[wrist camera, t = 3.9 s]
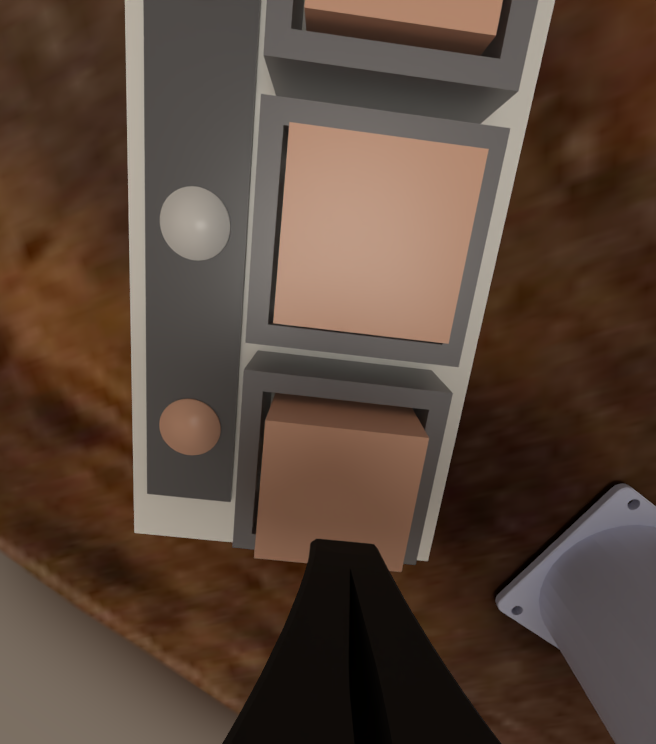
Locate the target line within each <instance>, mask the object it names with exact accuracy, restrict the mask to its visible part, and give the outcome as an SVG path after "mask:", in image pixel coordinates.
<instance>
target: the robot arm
mask: <svg viewBox="0 0 656 744" xmlns="http://www.w3.org/2000/svg"><path fill="white" fill-rule="evenodd" d="M631 500H632V502H631V503H629V501H631ZM628 503H629V504H628ZM495 601H496V604H497V606H498V608H499V610H500V611H501V612H503V613H504V614H506V615H507V616H509V617H510V618H512V619H514V620H515V621H517V622H518V623H520V624H521V625H523V626H524V627H526V628H527V629H529V630H530V631H532V632H534V633H535V634H537V635H538V636H540V637H541V638H543V639H544V640H546V641H547V642H549V643H550V644H552V645H554V646H555V647H557V648H558V649H560V651H561V653H562V654H563V656H564V658H565V659H566V661H567V663H568V664H569V666H570V668H571V670H572V671H573V673H574V675H575V676H576V678H577V680H578V681H579V683H580V685H581V686H582V688H583V690H584V691H585V693H586V695H587V696H588V698H589V700H590V702H591V703H592V705H593V707H594V708H595V710H596V712H597V713H598V715H599V717H600V718H601V720H602V722H603V723H604V725H605V727H606V728H607V730H608V732H609V734H610V735H611V737H612V739H613V740H614V742H615V744H656V506H655V505H653V504H652V503H651V502H650V501H648V500H647V499H646V498H644V497H643V496H642V495H641V494H639V493H638V492H637V491H636V490H634V489H633V488H632V487H630V486H629V485H627V484H617V485H615V486H613V487H612V488H611V489H610V490H609V491H608V492H607V493H606V494H605V495H603V496H602V497H601V498H600V499H599V500H598V501H597V502H596V503H595V504H594V505H593V506H592V507H591V508H590V509H589V510H587V511H586V512H585V513H584V514H583V515H582V516H581V517H580V518H579V519H578V520H577V521H576V522H575V523H574V524H572V525H571V526H570V527H569V528H568V529H567V530H566V531H565V532H564V533H563V534H562V535H561V536H560V537H559V538H558V539H556V540H555V541H554V542H553V543H552V544H551V545H550V546H549V547H548V548H547V549H546V550H545V551H544V552H543V553H541V554H540V555H539V556H538V557H537V558H536V559H535V560H534V561H533V562H532V563H531V564H530V565H529V566H528V567H527V568H525V569H524V570H523V571H522V572H521V573H520V574H519V575H518V576H517V577H516V578H515V579H514V580H513V581H512V582H511V583H509V584H508V585H507V586H506V587H505V588H504V589H503V590H502V591H501V592H500V593H499V594H498V595H497V596H496V599H495ZM515 606H517V607H515ZM514 607H515V608H514ZM222 744H501V743H500V741H499V740H498V739H497V737H496V736H495V735H494V733H493V732H492V731H491V730H490V728H489V727H488V725H487V724H486V723H485V721H484V720H483V719H482V717H481V716H480V715H479V713H478V712H477V710H476V709H475V708H474V706H473V705H472V703H471V702H470V701H469V699H468V698H467V696H466V695H465V694H464V692H463V691H462V689H461V688H460V686H459V685H458V683H457V682H456V680H455V679H454V677H453V676H452V674H451V673H450V671H449V670H448V669H447V667H446V666H445V664H444V663H443V661H442V659H441V658H440V656H439V655H438V653H437V652H436V650H435V649H434V647H433V646H432V644H431V642H430V641H429V639H428V637H427V636H426V634H425V633H424V631H423V629H422V628H421V626H420V624H419V623H418V621H417V619H416V618H415V616H414V615H413V613H412V611H411V609H410V608H409V606H408V604H407V603H406V601H405V599H404V597H403V596H402V594H401V592H400V590H399V588H398V587H397V585H396V583H395V581H394V579H393V577H392V575H391V574H390V572H389V570H388V568H387V566H386V564H385V562H384V560H383V558H382V556H381V554H380V552H379V550H378V548H377V547H376V546H375V545H374V544H369V543H359V542H348V541H338V540H327V539H315V540H314V541H312V542H311V543H310V551H309V558H308V563H307V566H306V570H305V573H304V576H303V579H302V582H301V585H300V588H299V591H298V594H297V596H296V598H295V601H294V603H293V606H292V608H291V611H290V613H289V616H288V618H287V621H286V623H285V625H284V628H283V630H282V632H281V634H280V636H279V638H278V640H277V642H276V644H275V646H274V649H273V651H272V653H271V655H270V657H269V659H268V661H267V663H266V665H265V667H264V669H263V671H262V673H261V675H260V677H259V679H258V681H257V683H256V685H255V686H254V688H253V690H252V692H251V694H250V696H249V698H248V699H247V701H246V703H245V705H244V707H243V709H242V710H241V712H240V714H239V716H238V717H237V719H236V721H235V723H234V724H233V726H232V728H231V730H230V732H229V733H228V735H227V737H226V738H225V740H224V742H223V743H222Z"/></svg>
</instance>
